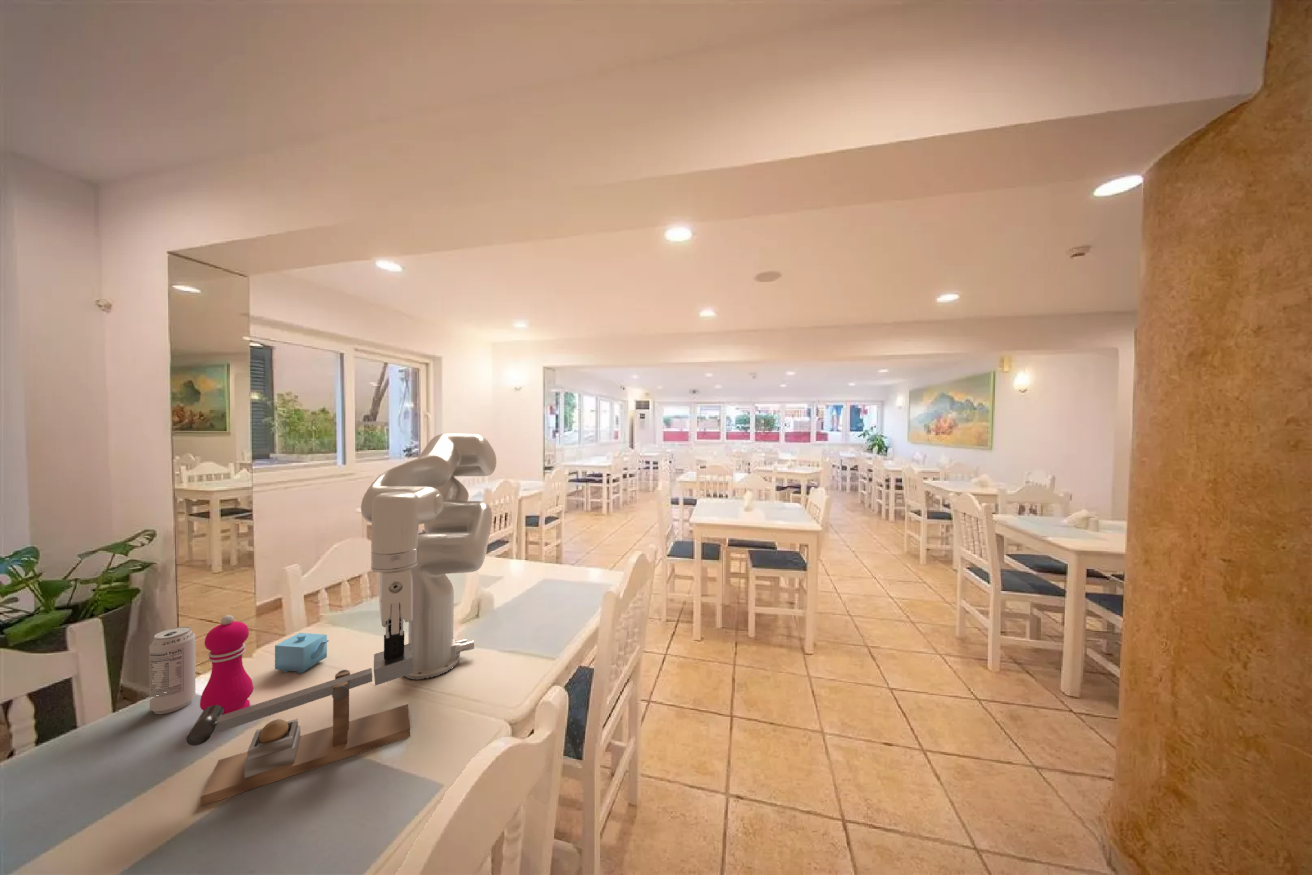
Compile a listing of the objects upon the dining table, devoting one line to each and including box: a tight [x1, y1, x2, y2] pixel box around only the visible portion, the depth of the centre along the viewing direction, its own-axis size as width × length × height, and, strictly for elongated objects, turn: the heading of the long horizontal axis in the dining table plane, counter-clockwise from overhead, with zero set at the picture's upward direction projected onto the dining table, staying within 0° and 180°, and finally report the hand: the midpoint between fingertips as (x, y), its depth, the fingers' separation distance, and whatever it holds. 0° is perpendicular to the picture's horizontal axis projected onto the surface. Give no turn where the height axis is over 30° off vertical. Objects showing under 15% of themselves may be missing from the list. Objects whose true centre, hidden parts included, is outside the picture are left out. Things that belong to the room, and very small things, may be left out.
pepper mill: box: [199, 614, 254, 715], centre depth 81 cm, size 7×7×20 cm
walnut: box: [259, 718, 288, 744], centre depth 70 cm, size 4×4×4 cm
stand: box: [200, 669, 411, 807], centre depth 73 cm, size 27×8×12 cm, turn 123°
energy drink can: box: [148, 626, 196, 715], centre depth 84 cm, size 6×6×15 cm
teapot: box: [274, 632, 330, 675], centre depth 98 cm, size 12×6×8 cm, turn 85°
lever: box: [185, 643, 414, 747], centre depth 73 cm, size 29×6×3 cm, turn 123°
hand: (393, 655), depth 79 cm, fingers closed
